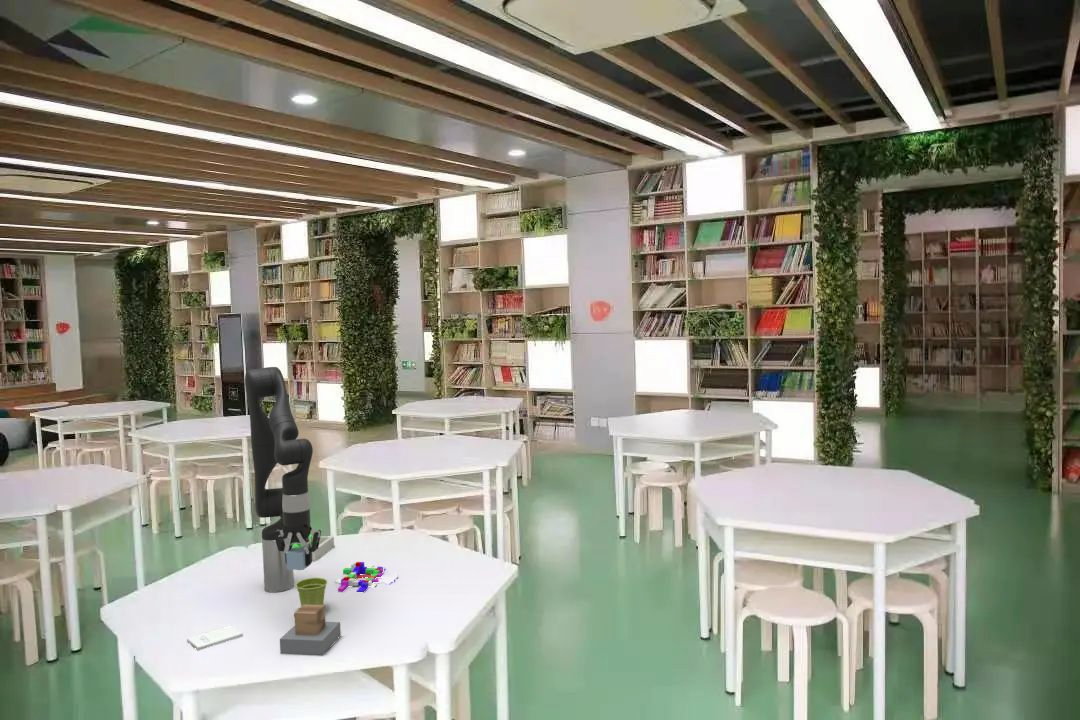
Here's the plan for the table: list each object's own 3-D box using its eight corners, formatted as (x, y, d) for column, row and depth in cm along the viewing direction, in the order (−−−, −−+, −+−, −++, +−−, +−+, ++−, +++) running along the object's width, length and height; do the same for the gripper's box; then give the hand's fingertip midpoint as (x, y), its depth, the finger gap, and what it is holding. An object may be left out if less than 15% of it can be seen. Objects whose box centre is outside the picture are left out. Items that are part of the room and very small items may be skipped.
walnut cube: (305, 625, 215) (304, 604, 214) (325, 626, 214) (324, 605, 213) (295, 634, 209) (294, 613, 208) (316, 635, 208) (315, 613, 207)
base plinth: (300, 634, 218) (299, 620, 218) (340, 636, 217) (340, 622, 216) (280, 653, 206) (279, 638, 206) (322, 655, 205) (322, 640, 204)
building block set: (385, 594, 249) (384, 581, 249) (324, 593, 251) (323, 580, 251) (407, 568, 274) (407, 556, 273) (352, 567, 276) (351, 555, 276)
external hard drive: (242, 638, 218) (197, 652, 210) (231, 630, 224) (187, 643, 216) (242, 632, 218) (197, 646, 210) (231, 624, 224) (186, 637, 215)
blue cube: (295, 563, 227) (294, 547, 227) (310, 564, 227) (310, 547, 226) (287, 569, 222) (286, 552, 222) (303, 570, 222) (302, 553, 221)
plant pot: (330, 603, 241) (328, 576, 240) (327, 615, 232) (325, 587, 231) (299, 606, 240) (297, 579, 239) (294, 618, 230) (293, 589, 230)
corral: (291, 545, 302) (291, 535, 302) (334, 546, 299) (333, 536, 299) (270, 560, 285) (269, 549, 284) (314, 561, 282) (314, 550, 282)
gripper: (325, 504, 226) (327, 561, 227) (279, 504, 228) (281, 560, 229) (314, 511, 219) (317, 570, 220) (266, 511, 221) (269, 569, 222)
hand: (299, 564), depth 225 cm, fingers closed on blue cube, 5 cm apart
